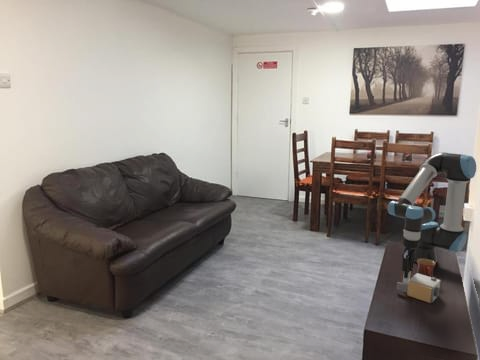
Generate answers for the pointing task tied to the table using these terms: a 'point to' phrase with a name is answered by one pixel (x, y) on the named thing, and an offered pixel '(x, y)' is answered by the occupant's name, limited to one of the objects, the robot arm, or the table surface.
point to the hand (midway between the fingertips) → (405, 283)
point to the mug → (426, 267)
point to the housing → (427, 283)
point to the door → (417, 291)
